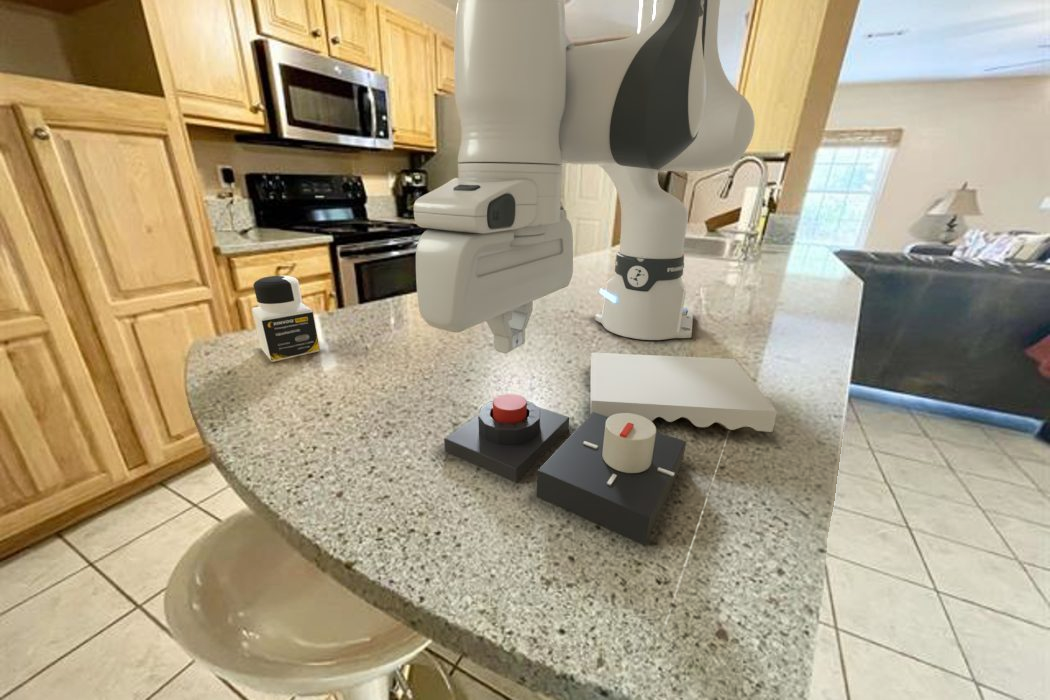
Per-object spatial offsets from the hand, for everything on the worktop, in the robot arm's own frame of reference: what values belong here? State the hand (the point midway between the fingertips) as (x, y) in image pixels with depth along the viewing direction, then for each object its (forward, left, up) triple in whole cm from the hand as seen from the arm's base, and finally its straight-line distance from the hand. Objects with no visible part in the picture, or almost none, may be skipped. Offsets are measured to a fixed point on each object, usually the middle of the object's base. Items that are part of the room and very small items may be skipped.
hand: (509, 348), depth 42 cm
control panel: (0, +12, -11) cm, 16 cm away
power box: (0, 0, -11) cm, 11 cm away
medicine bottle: (-1, -44, -11) cm, 45 cm away
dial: (0, +13, -8) cm, 15 cm away
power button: (0, 0, -8) cm, 8 cm away
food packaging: (-19, +12, -11) cm, 25 cm away
